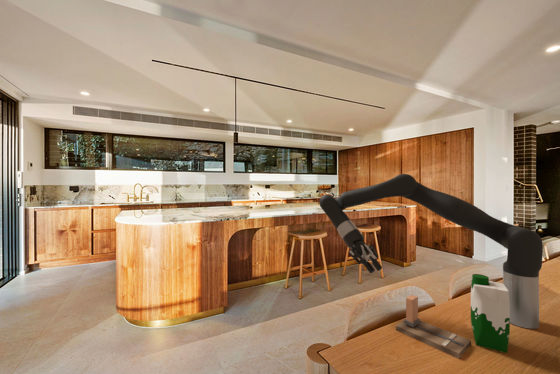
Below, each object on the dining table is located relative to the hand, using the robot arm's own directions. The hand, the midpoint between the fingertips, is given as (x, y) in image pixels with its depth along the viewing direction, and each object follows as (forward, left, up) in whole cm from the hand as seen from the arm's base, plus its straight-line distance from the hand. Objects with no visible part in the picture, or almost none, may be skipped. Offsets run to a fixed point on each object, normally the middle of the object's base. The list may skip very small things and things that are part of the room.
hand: (376, 270), depth 96 cm
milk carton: (-11, +31, -16) cm, 37 cm away
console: (0, +19, -16) cm, 25 cm away
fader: (0, +13, -14) cm, 19 cm away
